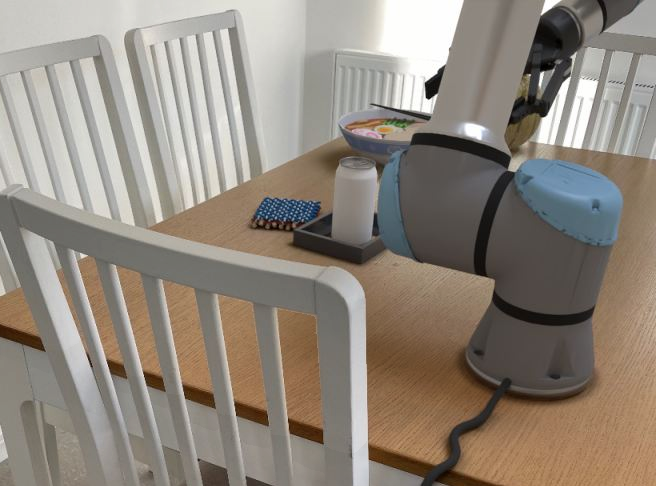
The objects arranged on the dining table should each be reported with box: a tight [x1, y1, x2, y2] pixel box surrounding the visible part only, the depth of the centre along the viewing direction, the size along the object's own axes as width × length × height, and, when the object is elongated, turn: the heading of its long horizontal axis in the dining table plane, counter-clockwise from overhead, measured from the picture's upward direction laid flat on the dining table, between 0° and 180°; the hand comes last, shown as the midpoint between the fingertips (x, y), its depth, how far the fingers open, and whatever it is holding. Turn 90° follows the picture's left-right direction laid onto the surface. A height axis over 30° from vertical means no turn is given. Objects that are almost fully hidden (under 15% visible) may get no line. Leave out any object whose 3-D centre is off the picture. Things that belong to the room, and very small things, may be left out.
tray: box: [292, 208, 387, 265], centre depth 132 cm, size 15×13×2 cm
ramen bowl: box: [337, 102, 432, 168], centre depth 162 cm, size 25×23×8 cm
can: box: [331, 156, 378, 246], centre depth 129 cm, size 6×6×12 cm
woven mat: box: [251, 196, 322, 231], centre depth 139 cm, size 10×11×2 cm
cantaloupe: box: [504, 74, 543, 150], centre depth 168 cm, size 15×15×15 cm
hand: (457, 110), depth 123 cm, fingers open, 13 cm apart
